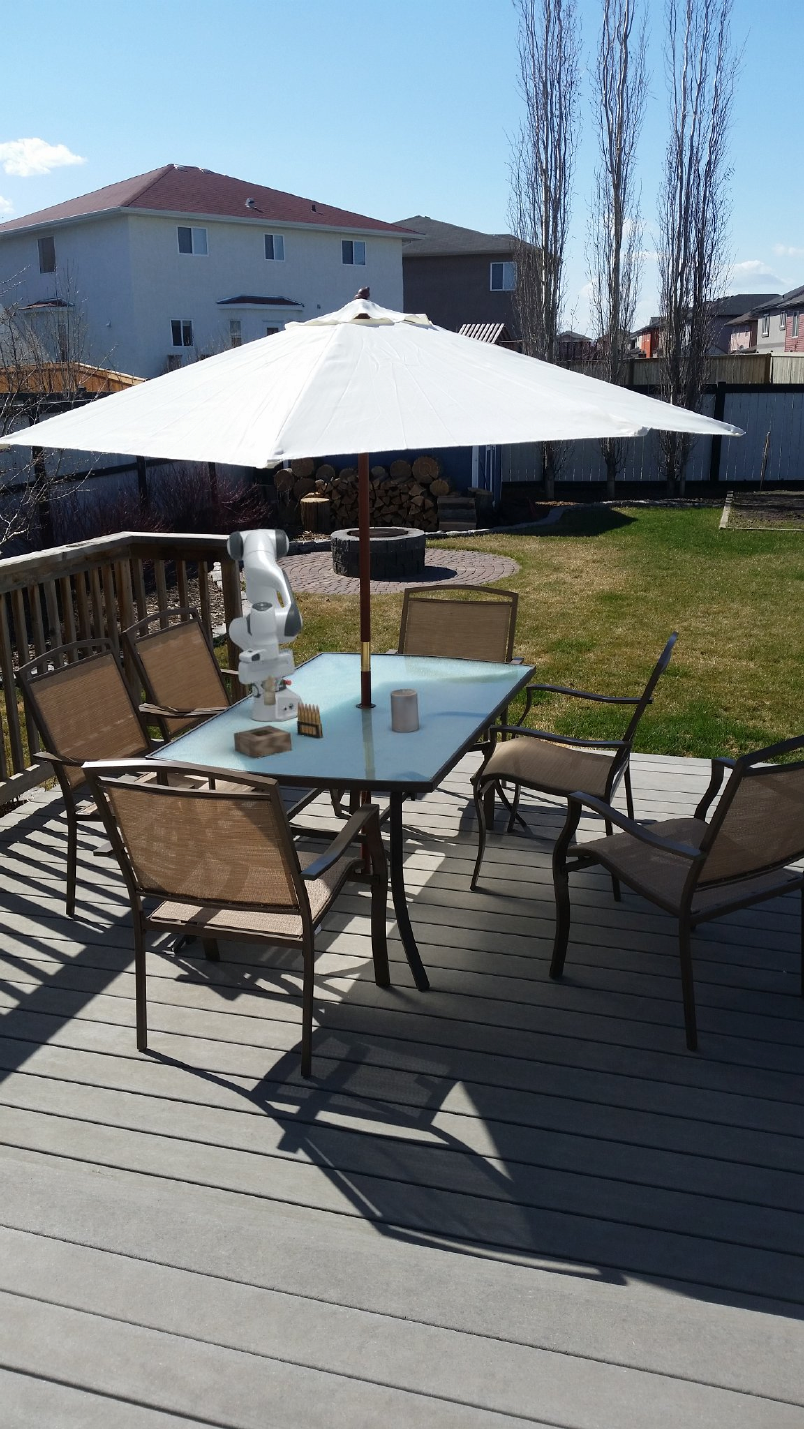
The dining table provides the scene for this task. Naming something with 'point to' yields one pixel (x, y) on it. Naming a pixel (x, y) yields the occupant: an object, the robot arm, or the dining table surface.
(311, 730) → the ammunition clip
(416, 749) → the dining table surface
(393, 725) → the pillar candle
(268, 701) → the peg
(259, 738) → the socket block
